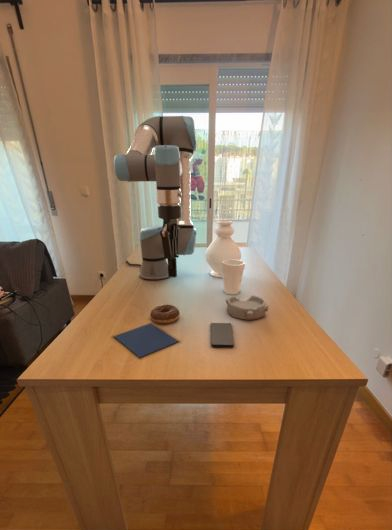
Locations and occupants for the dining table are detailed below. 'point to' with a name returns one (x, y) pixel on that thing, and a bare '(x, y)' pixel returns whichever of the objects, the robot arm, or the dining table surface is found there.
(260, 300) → the dish
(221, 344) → the smartphone
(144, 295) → the dining table surface
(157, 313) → the donut
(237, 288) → the foam cup
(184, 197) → the robot arm
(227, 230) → the decorative vase
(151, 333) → the cloth
